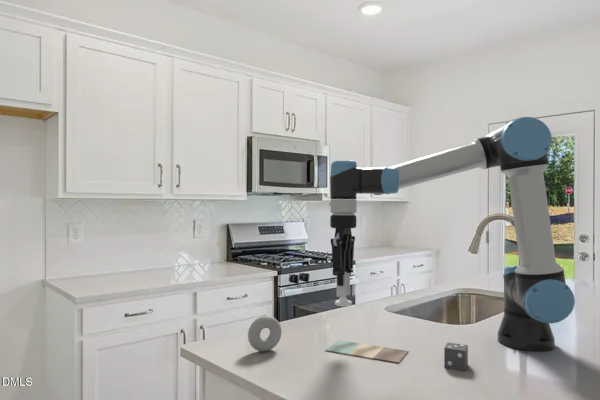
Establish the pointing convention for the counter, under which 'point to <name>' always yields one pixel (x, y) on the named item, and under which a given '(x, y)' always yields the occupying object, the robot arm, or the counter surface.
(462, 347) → the die
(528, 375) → the counter surface
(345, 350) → the track
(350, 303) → the chess piece
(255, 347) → the donut
